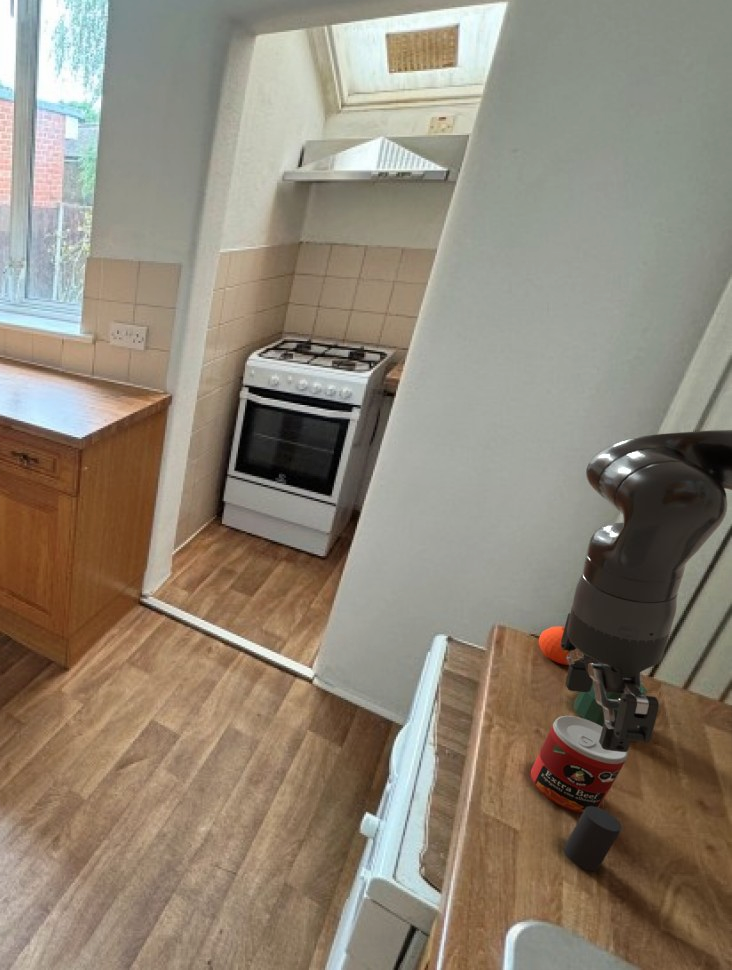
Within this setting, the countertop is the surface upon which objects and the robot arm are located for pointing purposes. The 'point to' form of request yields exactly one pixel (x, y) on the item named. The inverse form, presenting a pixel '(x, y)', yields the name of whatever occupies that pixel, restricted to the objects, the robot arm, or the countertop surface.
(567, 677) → the robot arm
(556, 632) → the clementine
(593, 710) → the green pipe coupling
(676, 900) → the countertop surface
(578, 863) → the plug
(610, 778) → the canned food
